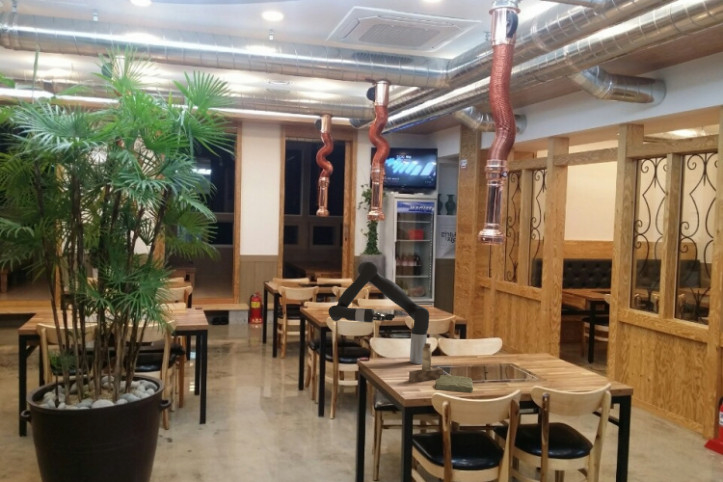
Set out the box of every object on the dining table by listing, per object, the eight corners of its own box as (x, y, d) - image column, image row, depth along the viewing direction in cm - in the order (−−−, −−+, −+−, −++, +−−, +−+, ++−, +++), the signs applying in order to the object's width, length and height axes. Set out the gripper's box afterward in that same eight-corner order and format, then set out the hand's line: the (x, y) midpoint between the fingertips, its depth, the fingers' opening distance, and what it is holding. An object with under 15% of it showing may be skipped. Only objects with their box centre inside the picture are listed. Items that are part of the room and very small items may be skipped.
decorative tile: (471, 383, 333) (471, 376, 333) (472, 393, 313) (473, 386, 313) (435, 380, 335) (436, 373, 335) (434, 390, 315) (435, 383, 315)
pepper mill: (426, 368, 337) (427, 342, 337) (432, 370, 333) (433, 344, 333) (420, 369, 335) (421, 343, 334) (425, 371, 331) (427, 344, 330)
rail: (437, 376, 342) (438, 367, 341) (442, 378, 338) (443, 369, 338) (408, 380, 330) (409, 371, 330) (413, 382, 327) (414, 372, 327)
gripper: (362, 310, 343) (392, 312, 340) (366, 306, 357) (395, 308, 354) (362, 324, 343) (391, 326, 340) (366, 320, 357) (394, 322, 354)
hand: (393, 317), depth 347 cm, fingers open, 8 cm apart
